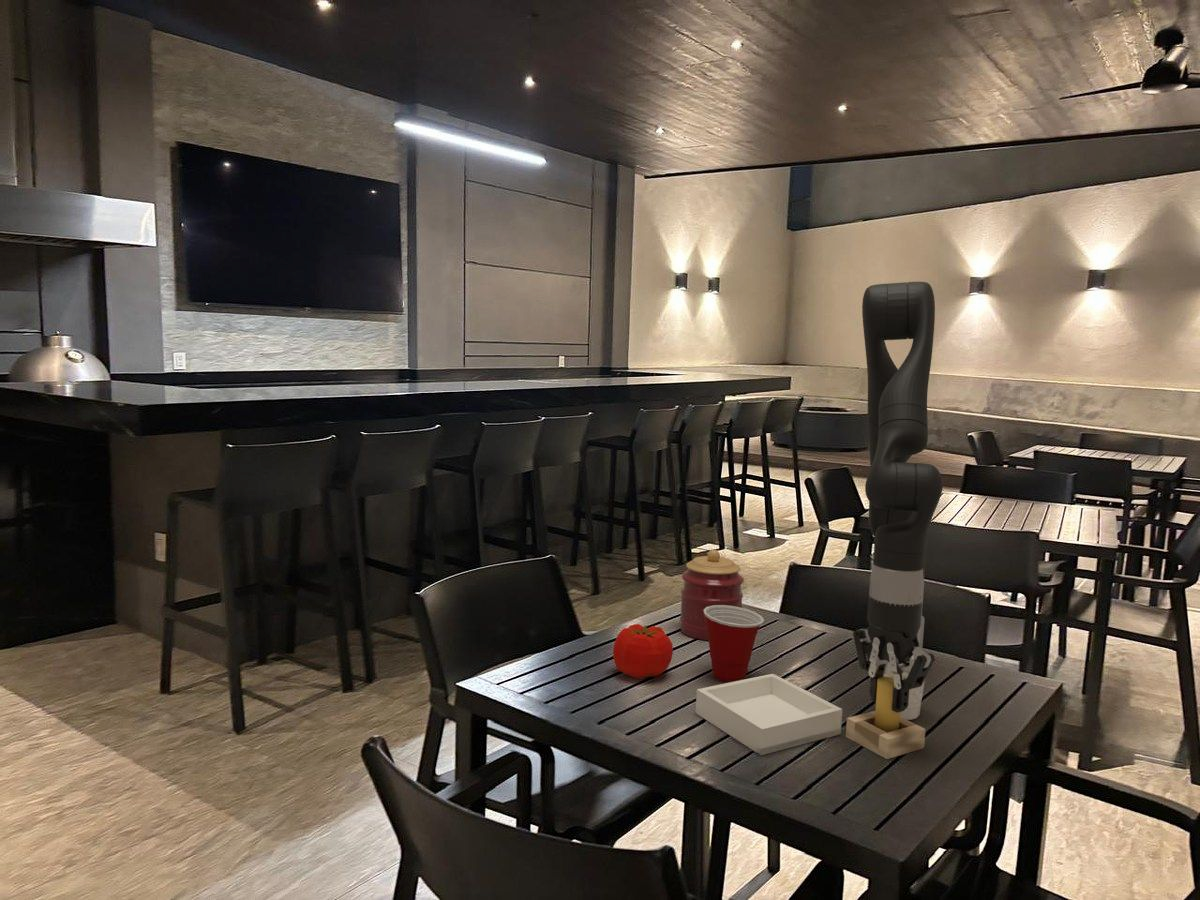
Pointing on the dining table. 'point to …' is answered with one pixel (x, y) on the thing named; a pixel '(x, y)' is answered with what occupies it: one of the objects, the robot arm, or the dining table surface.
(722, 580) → the canister
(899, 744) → the socket block
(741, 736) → the tray
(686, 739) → the dining table surface
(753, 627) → the plastic cup
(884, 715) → the dowel
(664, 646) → the tomato
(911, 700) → the white cup
